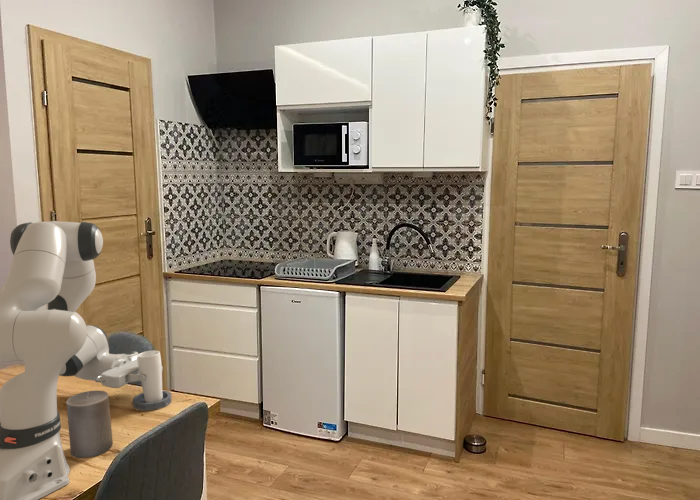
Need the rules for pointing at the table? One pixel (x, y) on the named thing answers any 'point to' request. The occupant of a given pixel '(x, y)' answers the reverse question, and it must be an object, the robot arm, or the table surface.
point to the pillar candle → (89, 423)
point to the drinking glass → (151, 375)
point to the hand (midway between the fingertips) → (153, 373)
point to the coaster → (142, 405)
